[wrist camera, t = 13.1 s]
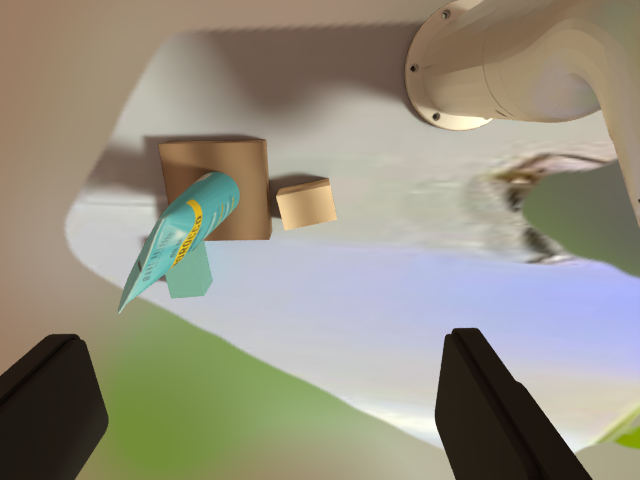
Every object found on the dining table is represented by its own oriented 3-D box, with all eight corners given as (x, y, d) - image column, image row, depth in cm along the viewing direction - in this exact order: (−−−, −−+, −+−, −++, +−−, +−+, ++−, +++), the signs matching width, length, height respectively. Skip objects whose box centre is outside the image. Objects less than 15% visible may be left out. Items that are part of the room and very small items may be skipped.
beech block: (328, 178, 42) (329, 185, 38) (335, 209, 43) (336, 219, 40) (279, 188, 42) (276, 196, 39) (287, 219, 44) (284, 230, 40)
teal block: (172, 240, 45) (159, 253, 41) (203, 238, 45) (193, 250, 41) (182, 282, 47) (171, 298, 43) (212, 280, 47) (203, 295, 43)
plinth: (266, 139, 40) (262, 142, 37) (272, 231, 44) (269, 239, 41) (169, 141, 40) (158, 144, 37) (184, 232, 44) (175, 241, 41)
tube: (226, 229, 41) (156, 329, 23) (186, 212, 40) (81, 300, 22) (251, 172, 38) (194, 232, 21) (209, 151, 38) (112, 196, 20)
